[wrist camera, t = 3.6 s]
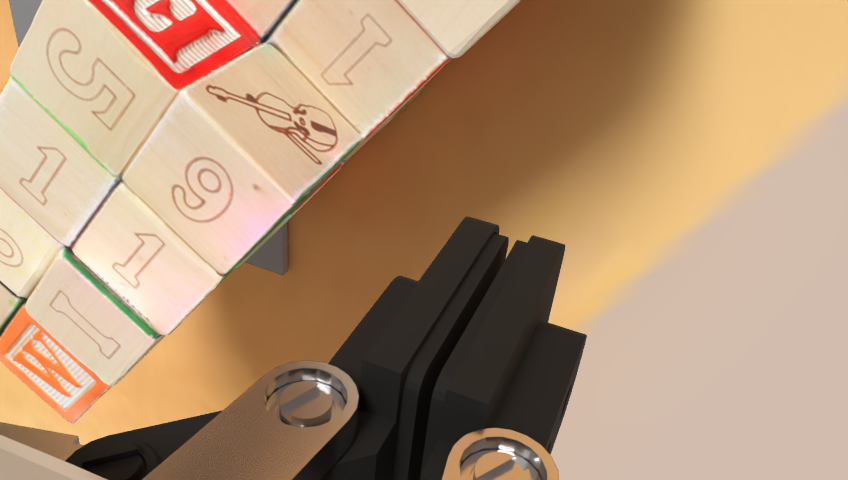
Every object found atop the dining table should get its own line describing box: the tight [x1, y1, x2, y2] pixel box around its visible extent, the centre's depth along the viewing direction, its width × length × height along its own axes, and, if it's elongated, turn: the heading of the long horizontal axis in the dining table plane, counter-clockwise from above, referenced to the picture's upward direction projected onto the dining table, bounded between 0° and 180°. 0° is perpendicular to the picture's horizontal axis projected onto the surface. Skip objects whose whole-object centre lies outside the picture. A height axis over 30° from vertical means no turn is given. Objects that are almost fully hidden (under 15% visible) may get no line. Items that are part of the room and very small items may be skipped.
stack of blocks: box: [0, 0, 521, 423], centre depth 20 cm, size 21×6×12 cm, turn 137°
